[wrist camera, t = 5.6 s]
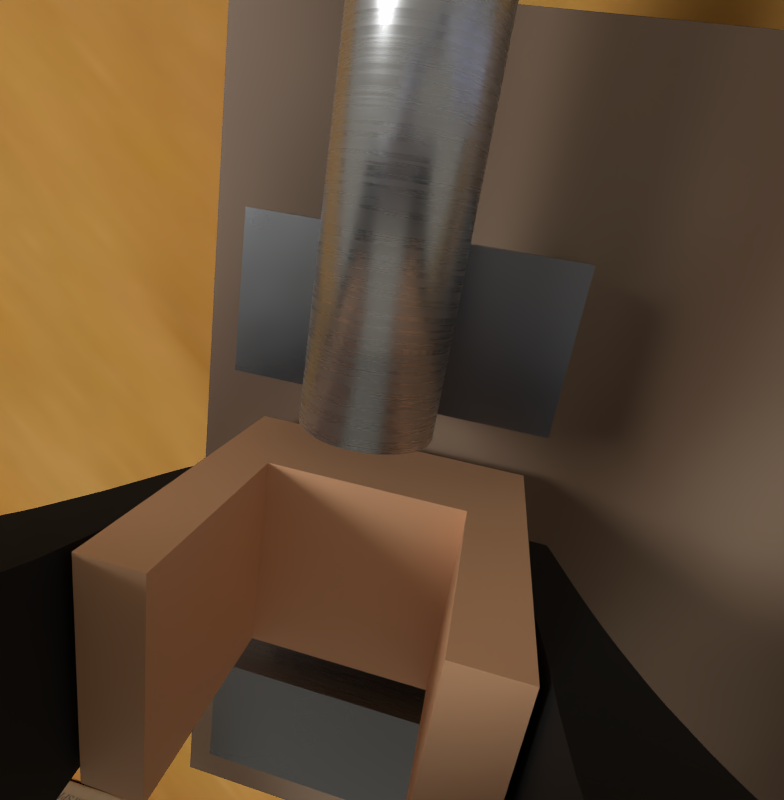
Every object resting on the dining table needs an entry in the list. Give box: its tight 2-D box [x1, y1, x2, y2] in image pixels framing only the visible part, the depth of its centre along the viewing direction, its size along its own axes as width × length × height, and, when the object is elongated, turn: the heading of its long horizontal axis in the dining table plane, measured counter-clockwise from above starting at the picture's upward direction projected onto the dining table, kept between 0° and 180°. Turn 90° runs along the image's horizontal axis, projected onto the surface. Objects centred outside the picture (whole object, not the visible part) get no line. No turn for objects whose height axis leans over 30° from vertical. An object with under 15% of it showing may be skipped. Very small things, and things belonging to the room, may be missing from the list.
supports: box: [210, 207, 595, 800], centre depth 10 cm, size 5×11×2 cm, turn 171°
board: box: [190, 0, 784, 800], centre depth 11 cm, size 16×18×1 cm
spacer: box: [72, 416, 540, 800], centre depth 8 cm, size 5×4×5 cm
